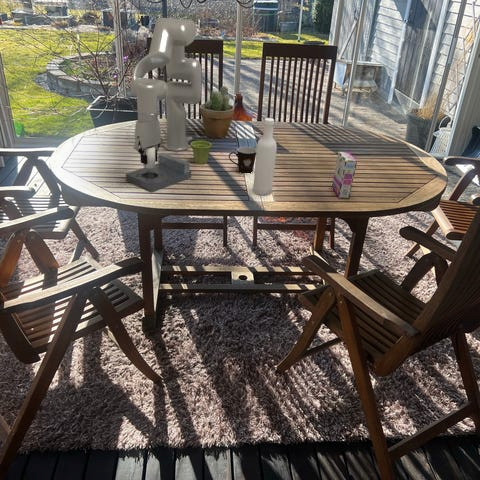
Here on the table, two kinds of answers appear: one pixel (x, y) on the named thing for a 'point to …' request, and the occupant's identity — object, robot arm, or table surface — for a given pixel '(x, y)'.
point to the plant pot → (200, 151)
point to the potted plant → (217, 114)
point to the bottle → (265, 160)
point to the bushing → (150, 157)
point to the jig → (161, 173)
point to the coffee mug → (245, 159)
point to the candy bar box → (344, 174)
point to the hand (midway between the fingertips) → (149, 161)
